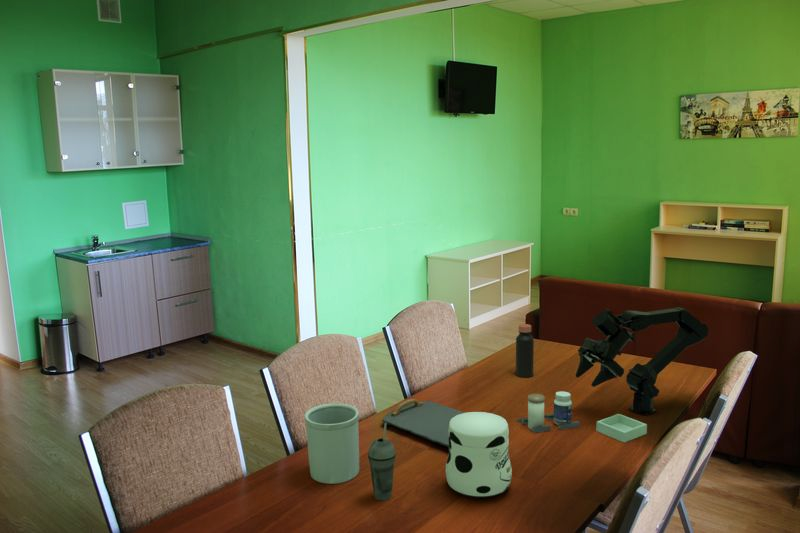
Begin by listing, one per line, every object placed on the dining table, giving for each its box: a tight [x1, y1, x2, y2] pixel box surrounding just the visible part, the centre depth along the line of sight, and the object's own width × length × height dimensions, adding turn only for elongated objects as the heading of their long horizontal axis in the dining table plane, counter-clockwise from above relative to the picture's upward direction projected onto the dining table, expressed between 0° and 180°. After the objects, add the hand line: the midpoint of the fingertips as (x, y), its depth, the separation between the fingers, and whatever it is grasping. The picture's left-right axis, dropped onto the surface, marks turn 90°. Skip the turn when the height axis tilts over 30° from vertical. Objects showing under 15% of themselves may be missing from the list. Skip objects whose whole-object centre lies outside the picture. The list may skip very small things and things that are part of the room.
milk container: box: [445, 411, 513, 499], centre depth 178 cm, size 17×17×18 cm
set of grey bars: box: [515, 412, 581, 434], centre depth 219 cm, size 17×11×2 cm, turn 107°
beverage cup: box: [367, 422, 397, 501], centre depth 174 cm, size 7×7×20 cm
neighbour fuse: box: [527, 393, 546, 430], centre depth 216 cm, size 5×5×10 cm
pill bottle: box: [552, 391, 573, 426], centre depth 218 cm, size 6×6×10 cm
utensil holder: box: [304, 402, 360, 485], centre depth 188 cm, size 15×15×18 cm
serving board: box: [381, 398, 466, 448], centre depth 216 cm, size 39×23×6 cm, turn 45°
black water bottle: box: [515, 323, 535, 378], centre depth 264 cm, size 7×7×20 cm
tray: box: [595, 413, 648, 443], centre depth 211 cm, size 11×11×3 cm
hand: (584, 381), depth 219 cm, fingers open, 9 cm apart
